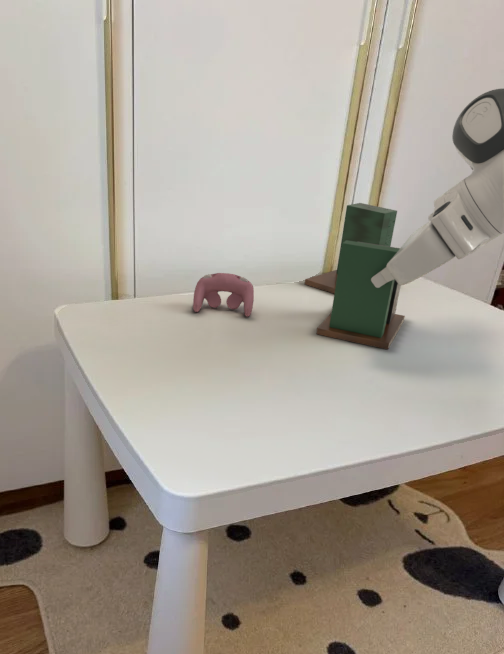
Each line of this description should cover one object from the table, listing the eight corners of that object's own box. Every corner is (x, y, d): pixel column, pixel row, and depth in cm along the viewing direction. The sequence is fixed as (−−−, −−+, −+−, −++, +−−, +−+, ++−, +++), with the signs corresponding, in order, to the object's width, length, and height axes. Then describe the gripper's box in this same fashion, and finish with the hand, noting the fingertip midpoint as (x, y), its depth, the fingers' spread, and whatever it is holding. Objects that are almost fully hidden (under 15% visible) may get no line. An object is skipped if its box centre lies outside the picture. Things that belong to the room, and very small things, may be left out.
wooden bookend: (403, 321, 104) (419, 249, 99) (387, 349, 94) (404, 270, 88) (338, 308, 108) (349, 238, 103) (316, 334, 97) (327, 257, 92)
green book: (383, 333, 96) (401, 248, 90) (381, 338, 95) (398, 252, 89) (332, 322, 99) (346, 240, 93) (329, 327, 98) (342, 243, 91)
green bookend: (393, 286, 121) (407, 211, 115) (353, 300, 113) (367, 220, 106) (345, 271, 128) (356, 200, 121) (304, 284, 119) (314, 208, 113)
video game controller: (252, 319, 106) (256, 277, 106) (251, 316, 101) (256, 272, 101) (193, 314, 107) (197, 272, 106) (190, 310, 102) (195, 267, 102)
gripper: (459, 188, 93) (381, 244, 101) (439, 214, 77) (348, 278, 85) (483, 223, 94) (404, 276, 102) (469, 256, 77) (376, 315, 86)
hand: (378, 277), depth 93 cm, fingers open, 4 cm apart
